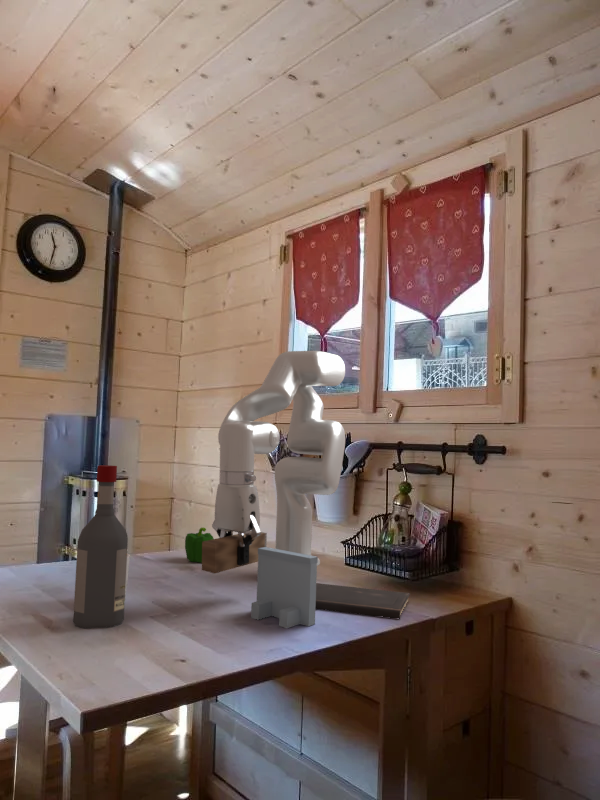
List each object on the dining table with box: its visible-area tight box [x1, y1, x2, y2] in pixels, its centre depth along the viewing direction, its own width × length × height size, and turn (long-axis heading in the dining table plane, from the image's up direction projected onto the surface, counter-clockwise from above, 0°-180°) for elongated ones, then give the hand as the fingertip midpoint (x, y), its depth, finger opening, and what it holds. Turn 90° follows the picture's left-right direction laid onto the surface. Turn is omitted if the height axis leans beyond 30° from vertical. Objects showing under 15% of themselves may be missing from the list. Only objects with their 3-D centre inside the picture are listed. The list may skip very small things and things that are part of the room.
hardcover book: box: [315, 582, 411, 620], centre depth 138 cm, size 16×23×2 cm
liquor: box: [72, 464, 129, 629], centre depth 119 cm, size 9×9×30 cm
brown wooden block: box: [201, 531, 268, 574], centre depth 134 cm, size 16×4×6 cm, turn 142°
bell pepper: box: [184, 527, 215, 564], centre depth 177 cm, size 8×8×10 cm
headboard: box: [250, 546, 319, 629], centre depth 124 cm, size 6×14×13 cm, turn 52°
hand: (235, 561), depth 134 cm, fingers closed on brown wooden block, 4 cm apart
